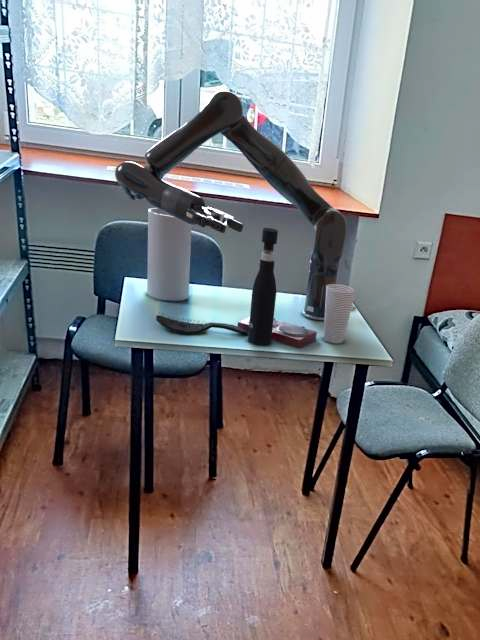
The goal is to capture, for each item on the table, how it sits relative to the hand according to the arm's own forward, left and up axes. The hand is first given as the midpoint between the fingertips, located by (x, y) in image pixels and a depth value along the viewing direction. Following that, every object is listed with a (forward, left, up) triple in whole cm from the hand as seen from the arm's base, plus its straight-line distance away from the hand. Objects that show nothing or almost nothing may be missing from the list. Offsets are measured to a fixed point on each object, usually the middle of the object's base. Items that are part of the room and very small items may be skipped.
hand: (233, 228), depth 172 cm
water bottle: (0, +11, -28) cm, 30 cm away
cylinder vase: (-15, -31, -28) cm, 45 cm away
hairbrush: (+5, -5, -28) cm, 29 cm away
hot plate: (-10, +11, -28) cm, 32 cm away
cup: (-19, +25, -28) cm, 42 cm away
